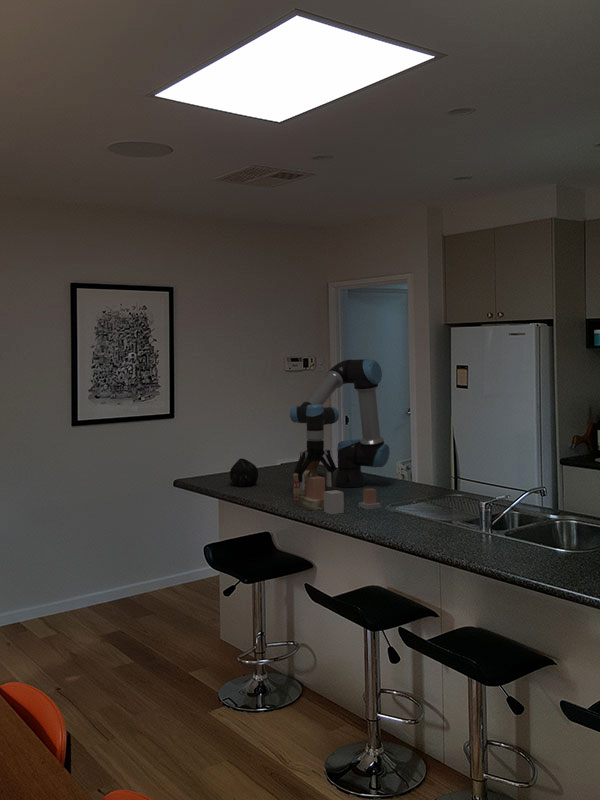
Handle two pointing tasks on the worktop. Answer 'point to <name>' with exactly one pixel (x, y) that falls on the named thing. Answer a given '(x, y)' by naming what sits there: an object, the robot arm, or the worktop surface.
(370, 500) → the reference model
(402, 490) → the worktop surface
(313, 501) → the birch base block
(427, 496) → the worktop surface
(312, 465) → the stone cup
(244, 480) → the squash
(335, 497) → the off-white block
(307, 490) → the terracotta block
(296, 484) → the stack of blocks
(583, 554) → the worktop surface
